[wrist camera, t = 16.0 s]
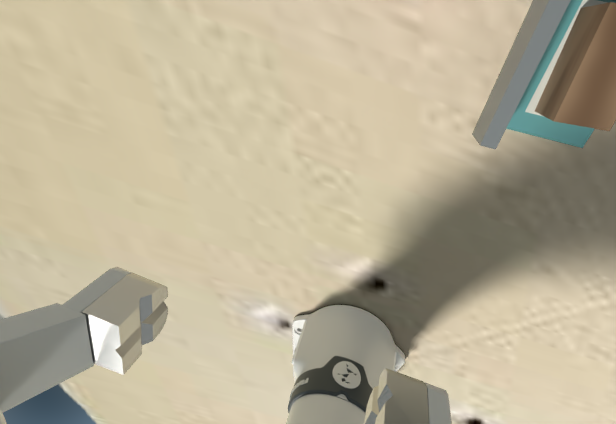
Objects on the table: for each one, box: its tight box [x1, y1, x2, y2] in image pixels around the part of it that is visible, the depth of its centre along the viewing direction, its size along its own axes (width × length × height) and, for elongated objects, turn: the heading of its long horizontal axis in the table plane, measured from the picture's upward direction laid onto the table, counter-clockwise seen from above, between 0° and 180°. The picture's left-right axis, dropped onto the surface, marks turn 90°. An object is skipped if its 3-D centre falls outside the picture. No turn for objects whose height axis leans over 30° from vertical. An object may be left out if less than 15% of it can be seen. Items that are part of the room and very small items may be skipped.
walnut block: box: [535, 2, 616, 131], centre depth 29 cm, size 4×9×5 cm, turn 173°
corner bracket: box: [472, 0, 616, 149], centre depth 30 cm, size 16×15×4 cm
